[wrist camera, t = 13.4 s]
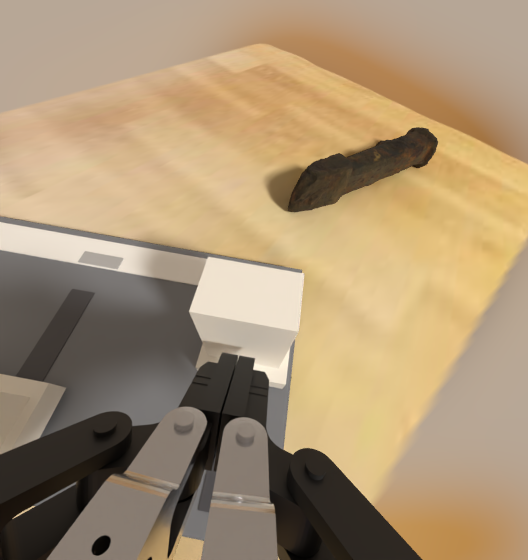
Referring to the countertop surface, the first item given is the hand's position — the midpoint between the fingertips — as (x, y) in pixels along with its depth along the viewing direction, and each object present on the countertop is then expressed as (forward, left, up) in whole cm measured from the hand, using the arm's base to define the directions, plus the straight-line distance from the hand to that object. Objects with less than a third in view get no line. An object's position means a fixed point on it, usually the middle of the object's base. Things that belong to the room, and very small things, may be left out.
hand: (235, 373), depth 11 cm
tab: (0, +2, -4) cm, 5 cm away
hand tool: (+9, +23, -6) cm, 25 cm away
